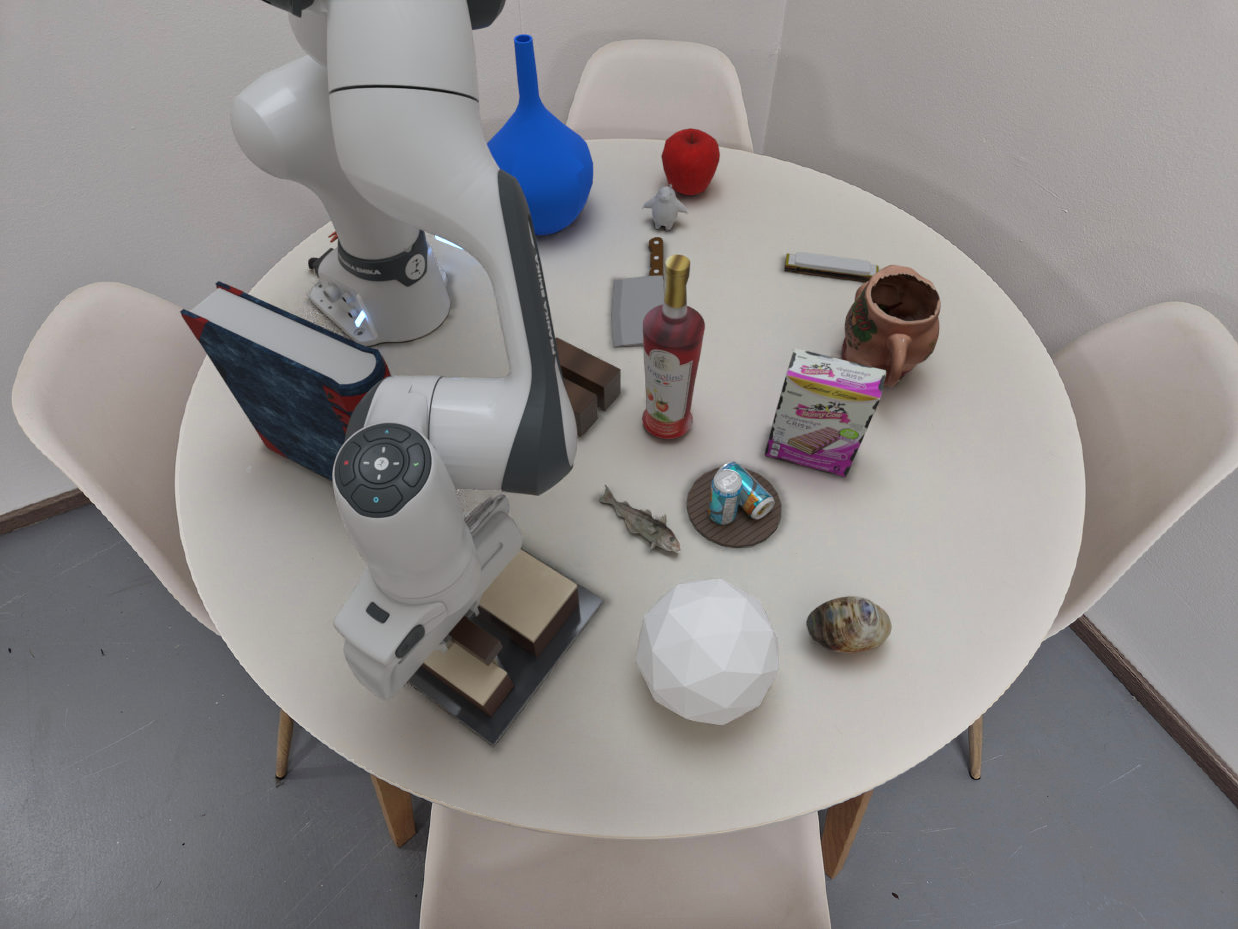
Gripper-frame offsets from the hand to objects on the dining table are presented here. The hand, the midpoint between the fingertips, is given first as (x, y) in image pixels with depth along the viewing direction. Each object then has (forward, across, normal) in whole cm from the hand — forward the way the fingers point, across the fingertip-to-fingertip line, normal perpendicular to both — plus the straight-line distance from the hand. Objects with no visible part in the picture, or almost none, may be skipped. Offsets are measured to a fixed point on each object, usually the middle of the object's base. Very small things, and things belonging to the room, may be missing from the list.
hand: (456, 630), depth 78 cm
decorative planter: (+9, -66, +20) cm, 70 cm away
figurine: (+9, -78, -24) cm, 82 cm away
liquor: (+9, -41, 0) cm, 42 cm away
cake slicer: (+7, 0, 0) cm, 7 cm away
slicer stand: (+9, -37, -14) cm, 41 cm away
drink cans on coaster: (+9, -34, +14) cm, 38 cm away
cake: (+9, -4, 0) cm, 10 cm away
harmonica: (+9, -82, +5) cm, 83 cm away
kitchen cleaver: (+9, -62, -17) cm, 64 cm away
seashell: (+9, -26, +33) cm, 43 cm away
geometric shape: (+9, -13, +22) cm, 27 cm away
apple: (+9, -88, -25) cm, 92 cm away
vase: (+9, -67, -42) cm, 80 cm away
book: (+9, -11, -30) cm, 34 cm away
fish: (+9, -26, +6) cm, 28 cm away
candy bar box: (+9, -47, +18) cm, 51 cm away
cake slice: (+8, +2, 0) cm, 8 cm away
